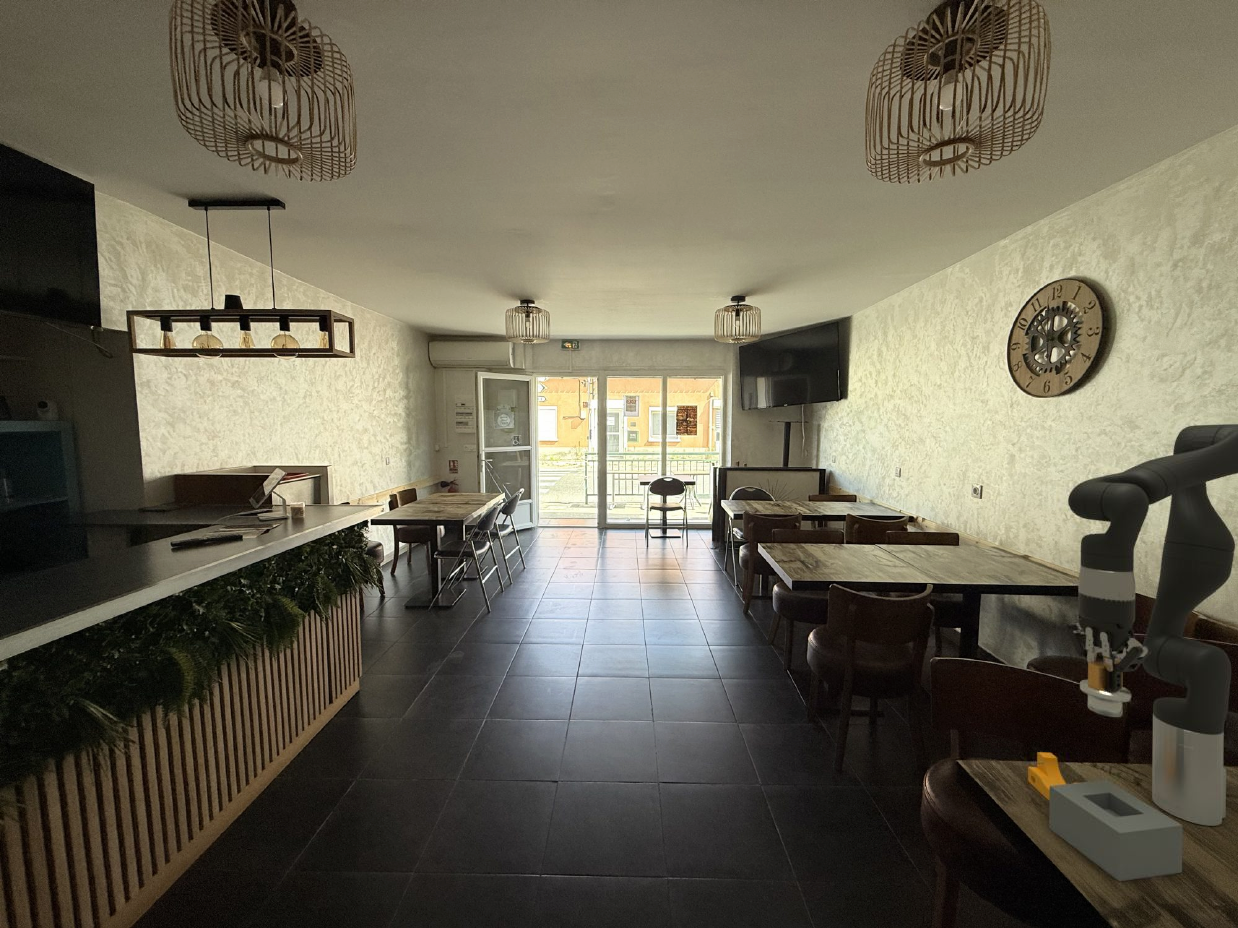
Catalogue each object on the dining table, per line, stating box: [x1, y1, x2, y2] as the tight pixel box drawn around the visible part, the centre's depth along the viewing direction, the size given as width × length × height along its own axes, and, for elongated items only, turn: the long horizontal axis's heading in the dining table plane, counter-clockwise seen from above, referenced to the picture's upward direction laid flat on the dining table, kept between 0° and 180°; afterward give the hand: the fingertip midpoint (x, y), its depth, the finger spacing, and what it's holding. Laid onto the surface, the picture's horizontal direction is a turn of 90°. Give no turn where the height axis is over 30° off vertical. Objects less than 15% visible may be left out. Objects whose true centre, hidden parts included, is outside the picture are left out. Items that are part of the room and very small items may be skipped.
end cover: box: [1079, 660, 1132, 718], centre depth 95 cm, size 7×7×9 cm
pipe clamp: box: [1027, 751, 1078, 801], centre depth 104 cm, size 12×4×6 cm, turn 174°
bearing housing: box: [1048, 779, 1184, 882], centre depth 91 cm, size 12×12×8 cm
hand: (1105, 687), depth 95 cm, fingers closed on end cover
